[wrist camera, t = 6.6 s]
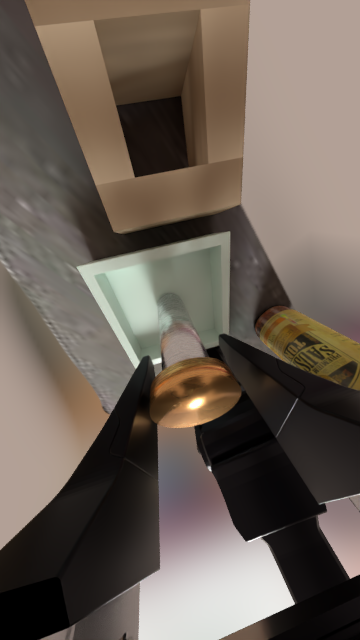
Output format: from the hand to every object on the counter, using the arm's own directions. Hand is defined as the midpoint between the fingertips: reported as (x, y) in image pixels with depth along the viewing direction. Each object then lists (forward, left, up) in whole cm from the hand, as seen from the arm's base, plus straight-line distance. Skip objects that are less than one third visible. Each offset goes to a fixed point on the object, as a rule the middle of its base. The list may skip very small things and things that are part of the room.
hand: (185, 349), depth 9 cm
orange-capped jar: (0, 0, -7) cm, 7 cm away
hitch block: (+12, -2, -8) cm, 15 cm away
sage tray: (0, 0, -8) cm, 8 cm away
